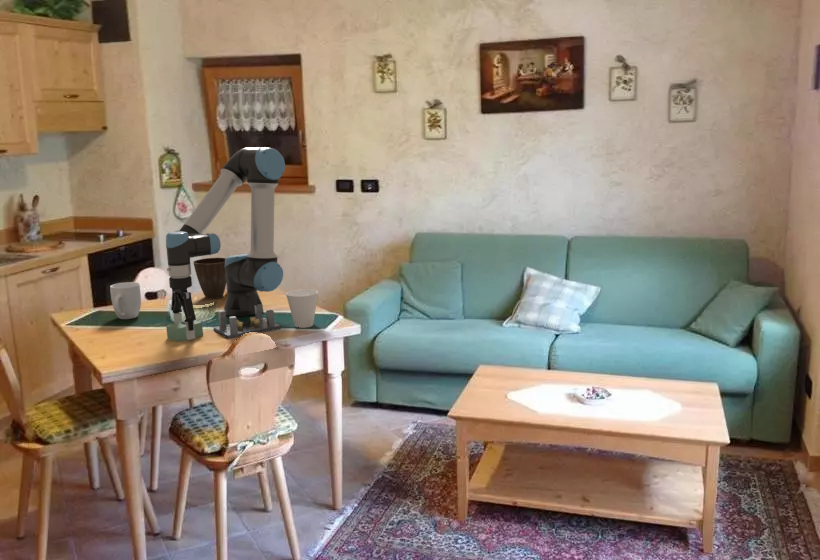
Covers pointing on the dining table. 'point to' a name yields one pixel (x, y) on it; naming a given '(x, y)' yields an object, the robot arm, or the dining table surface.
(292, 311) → the cup
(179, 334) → the block
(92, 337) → the dining table surface
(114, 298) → the mug
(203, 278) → the plant pot
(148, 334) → the dining table surface
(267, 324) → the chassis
